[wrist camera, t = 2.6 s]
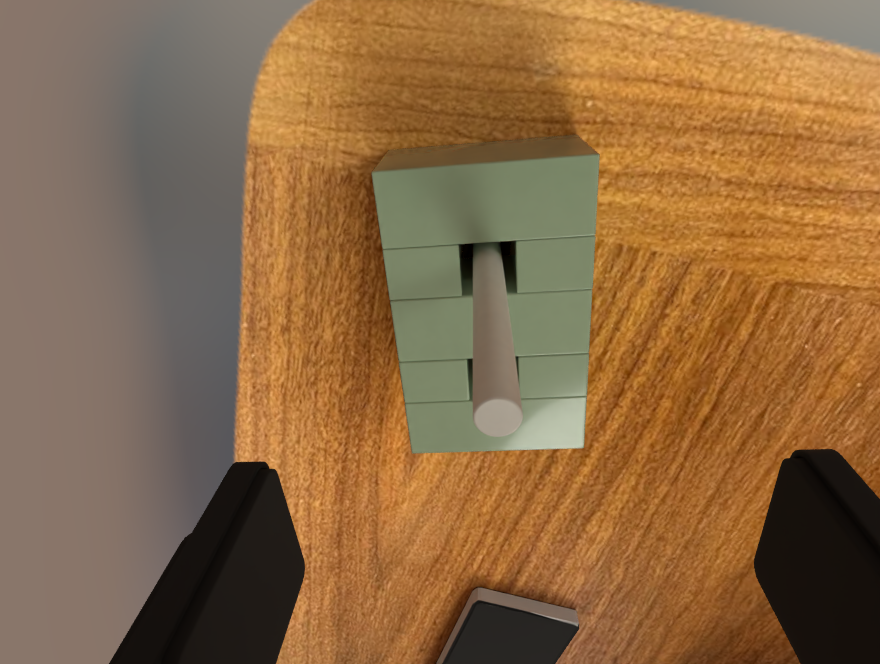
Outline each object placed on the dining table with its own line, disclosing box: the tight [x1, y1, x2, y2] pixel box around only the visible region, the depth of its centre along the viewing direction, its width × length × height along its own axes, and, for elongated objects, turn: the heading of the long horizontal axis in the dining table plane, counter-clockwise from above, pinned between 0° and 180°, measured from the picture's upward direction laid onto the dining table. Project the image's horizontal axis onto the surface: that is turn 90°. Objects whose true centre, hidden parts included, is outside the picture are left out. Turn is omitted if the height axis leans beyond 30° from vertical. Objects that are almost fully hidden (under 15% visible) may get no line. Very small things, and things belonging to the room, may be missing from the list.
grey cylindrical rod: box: [473, 242, 523, 437], centre depth 19 cm, size 1×1×14 cm
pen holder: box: [371, 135, 600, 453], centre depth 24 cm, size 13×8×4 cm, turn 5°
